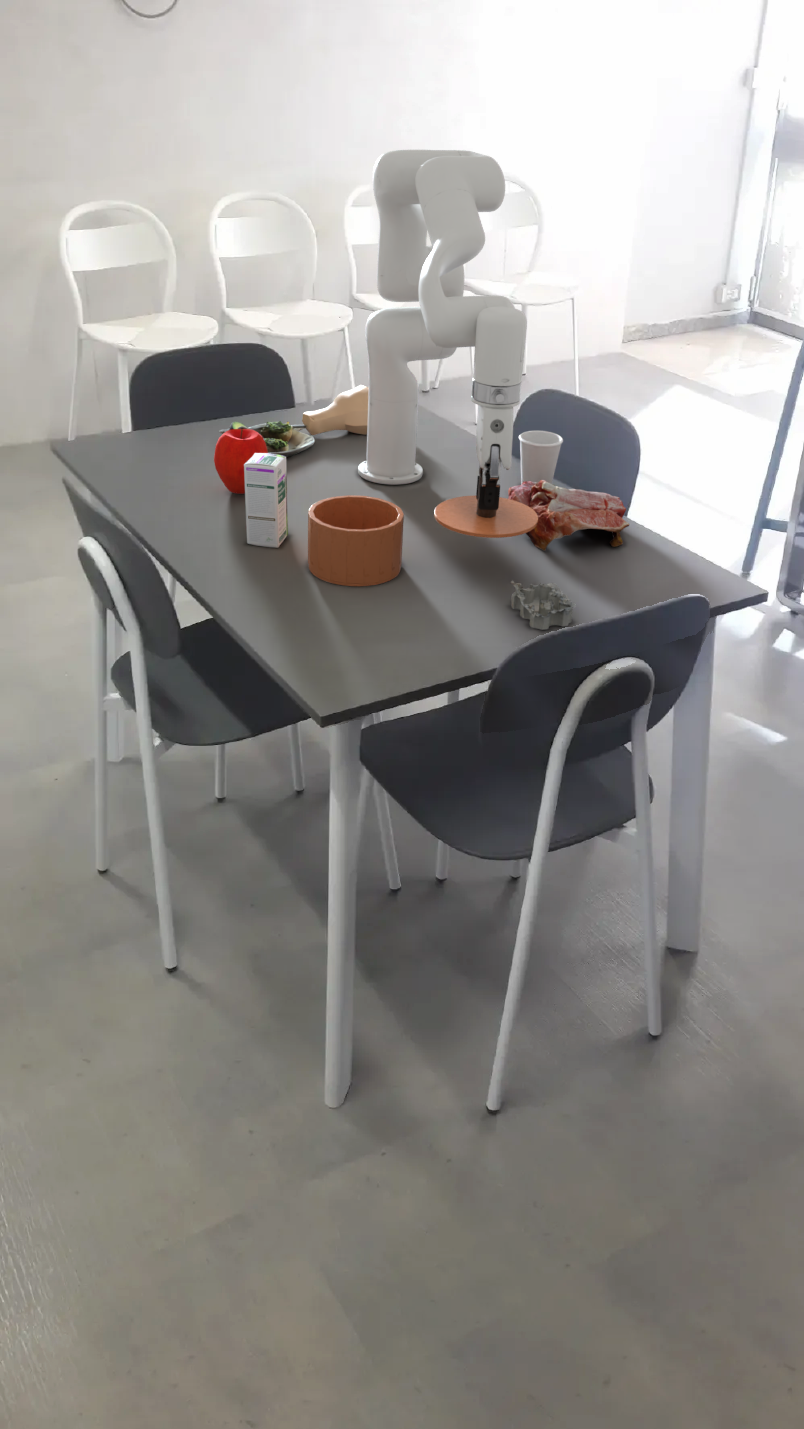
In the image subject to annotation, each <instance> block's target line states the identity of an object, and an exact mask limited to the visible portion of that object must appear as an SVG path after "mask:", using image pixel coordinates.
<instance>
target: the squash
mask: <svg viewBox="0 0 804 1429" xmlns="http://www.w3.org/2000/svg"><path fill="white" fill-rule="evenodd" d="M368 392H369V386H365V385H363V384H360V385H358V386H356V387H354V388H352V389H349V390H346V391H343V392H340V393H339V394H338V395H336V397H335V398H334V399H333V401H332V402H331V404H329V405H328V406H327V407H325V408H321V409H316V410H311V411H305V412H303V413H302V419H301V422H302V425H306V428H305V429H306V431H307V432H308V434H309V435H310V436H316V435H320V434H322V433H327V432H331V431H332V432H333V431H347V432H350V433H353V434H358V435H366V436H367V426H368Z"/></svg>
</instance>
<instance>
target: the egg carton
mask: <svg viewBox="0 0 804 1429" xmlns="http://www.w3.org/2000/svg"><path fill="white" fill-rule="evenodd" d="M510 584H512V585H513V587H514V588H515V590H514V592H513V593H512V594H511V598H510V600H511V602H510V604H511V608H512V609H513V610H519V611H520V612H519V617H521V618H522V619H525V620H529V626H530V628H531V629H538V630H543V631H545V630H549V627H551V626H560V627H568V626H569V624H571V623H572V621H573V612H574V608H575V607H577V604H575V603H574V602H573V601H571V599H569V596H568V595H566V594H565V593H564V592H563V591H562V590H561V589H560V587H559V586H558V585H557V584H556V583H554V582H547V583H541V582H539V584H537V585H534V584H533V583H530V584H529V586H528V588H523V584H522V583H520V582H517V583H516V582H515V581H514V580H511V581H510Z"/></svg>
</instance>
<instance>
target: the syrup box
mask: <svg viewBox="0 0 804 1429" xmlns="http://www.w3.org/2000/svg"><path fill="white" fill-rule="evenodd" d="M244 477H245V494H244V503H245V504H244V505H245V506H244V507H245V526H246V527H245V528H246V543H247V544H249V545H253V546H257V547H258V546H259V547H267V548H277V549H279V547H280V545H281V544H282V543H283V542H284V540H285V539H286V538H287V536H288V535H289V527H288V526H289V524H288V523H289V522H288V479H287V478H288V476H287V457H286V456H282V455H277V454H269V453H254V455H253V456H252V457H251V458H250V459H249V460H248V461H247V462H246V463H245V464H244Z"/></svg>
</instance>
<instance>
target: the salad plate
mask: <svg viewBox="0 0 804 1429" xmlns="http://www.w3.org/2000/svg"><path fill="white" fill-rule="evenodd" d="M231 429H251V430H254V431H256V432H258V433H259V434H260V435H261V436H262V437H263V439H264V441H265V443H266V447H267V451H268V453H269V454H277V455H282V456H286V458H287V457H292V456H294V455H297V454H299V453H301V452H304V451H306V450H307V449H309V448H310V447H312V446H313V445H314V444H315V442H316V438H315V437H314V436H313V435H310V434H307V433H303V432H301V431H302V430H304V429H306V425H304V424H290V421H286V423H283V422H282V421H281V420H279V421H272V422H271V421H266V423H260V424H255V425H253V426H249V427H248V426H246V425H245V424H244V423H243V422H239V421H232V422H231V424H230V425H229V428H224V429H220V430H218V431H217V432H218V433H220V434H221V435H223V434H224V433H225V432H226V431H228V430H231Z"/></svg>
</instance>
